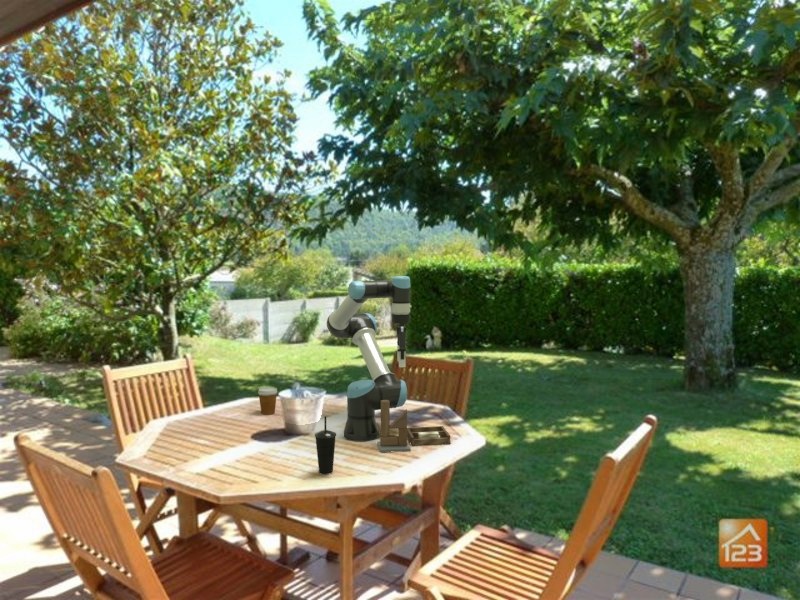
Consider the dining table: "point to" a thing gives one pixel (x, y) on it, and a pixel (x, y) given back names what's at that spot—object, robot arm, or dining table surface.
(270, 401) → the disposable coffee cup
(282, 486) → the dining table surface
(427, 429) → the walnut rack
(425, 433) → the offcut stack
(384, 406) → the wooden block assembly
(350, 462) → the dining table surface
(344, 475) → the dining table surface
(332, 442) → the drinking cup
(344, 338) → the robot arm
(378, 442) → the slate tile
